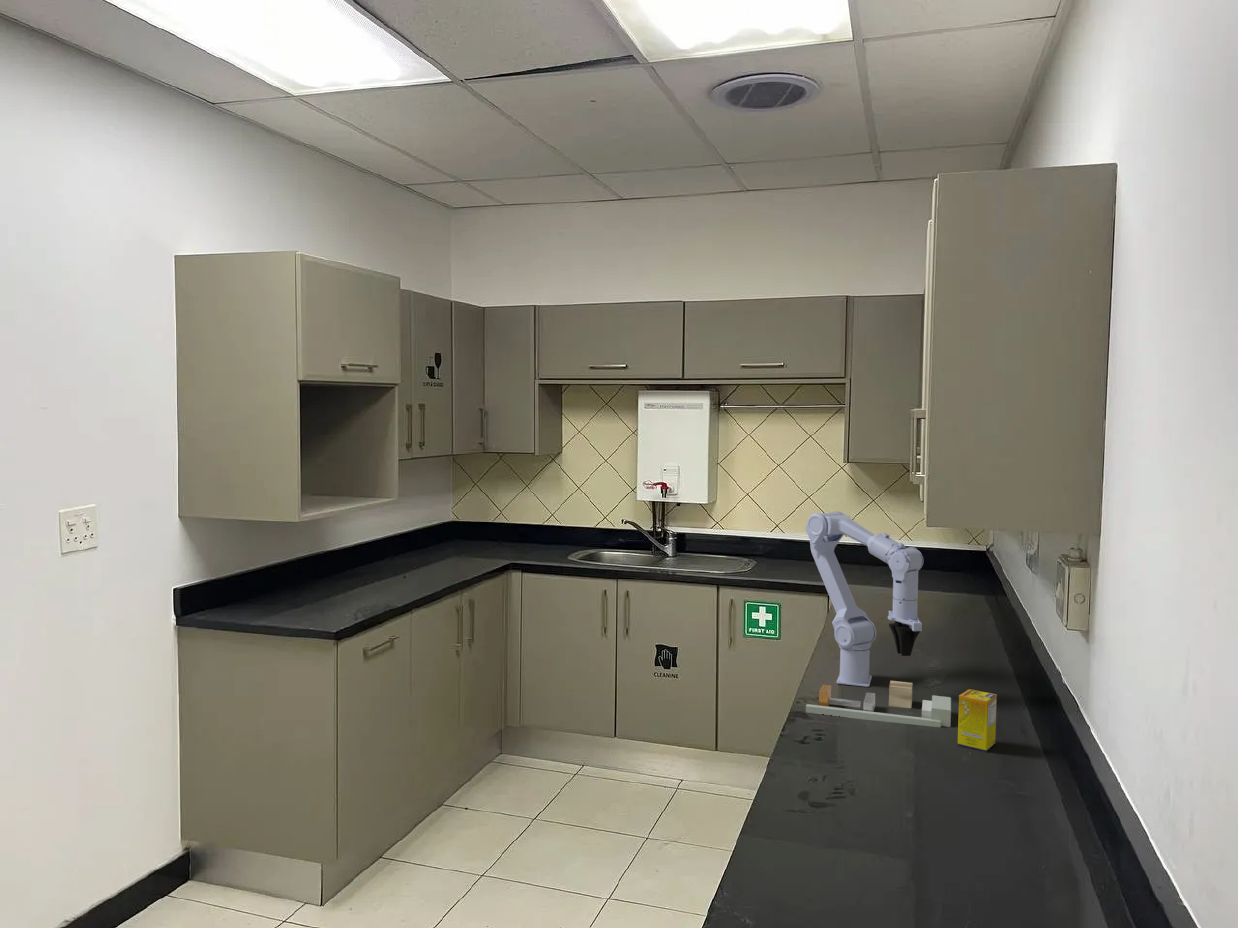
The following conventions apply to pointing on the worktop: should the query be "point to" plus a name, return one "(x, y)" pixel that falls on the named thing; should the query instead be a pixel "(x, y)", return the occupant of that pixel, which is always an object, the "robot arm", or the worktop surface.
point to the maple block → (900, 694)
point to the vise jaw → (827, 700)
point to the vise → (932, 715)
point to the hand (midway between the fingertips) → (903, 654)
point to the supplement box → (977, 720)
